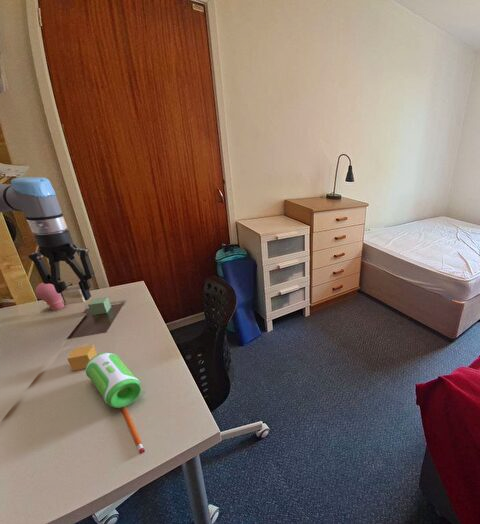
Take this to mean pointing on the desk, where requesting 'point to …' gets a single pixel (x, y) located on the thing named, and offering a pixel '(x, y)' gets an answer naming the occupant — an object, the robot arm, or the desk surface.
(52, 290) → the light bulb
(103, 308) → the green cube
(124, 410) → the pencil
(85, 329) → the board
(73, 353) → the orange cube
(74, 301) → the beige cube
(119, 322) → the desk surface
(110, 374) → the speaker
